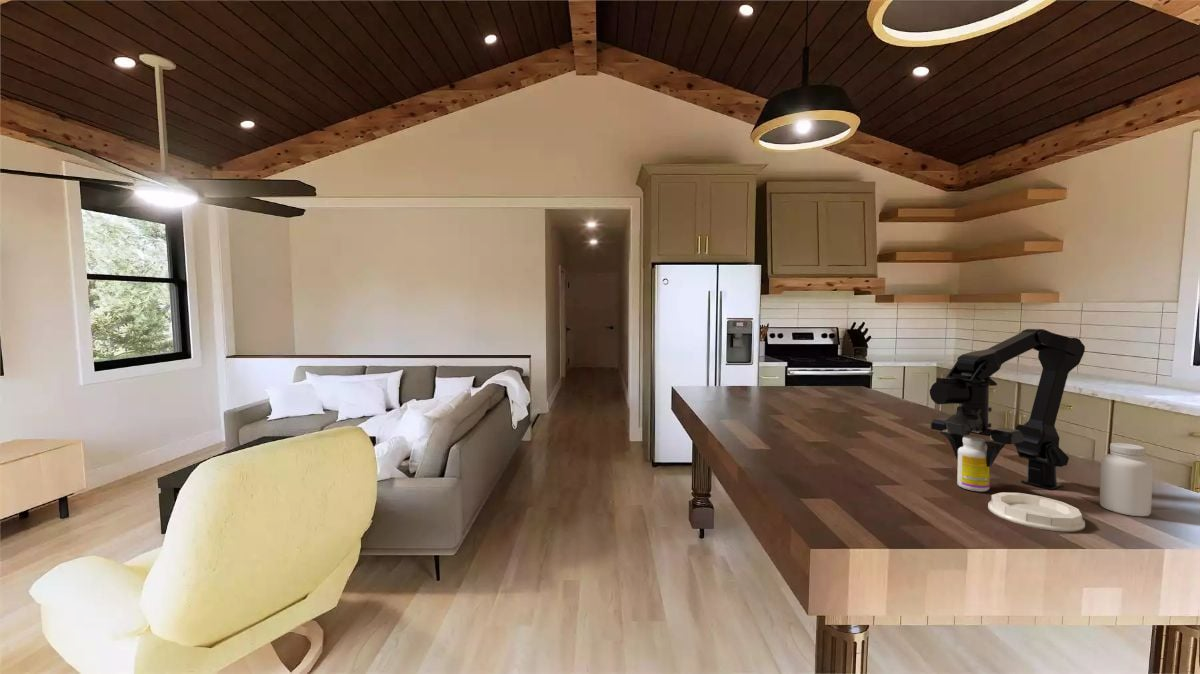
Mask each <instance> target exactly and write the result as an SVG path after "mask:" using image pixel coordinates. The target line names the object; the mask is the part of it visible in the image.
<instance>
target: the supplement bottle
mask: <svg viewBox="0 0 1200 674" xmlns="http://www.w3.org/2000/svg"><path fill="white" fill-rule="evenodd" d="M985 441H986V439H984V438H981V437H975V436H963V441H962V442H963V446H962V447H960V448H959V449H958V459H957V470H956V471H957V477H956V481H957V486H959V487H960V488H962V489H964V490H968V491H972V492H988V491H989V490H990V479H991V477H990V475H991V473H990V472H991V467H987V462H986V459H987V448H985V446H986V443H985Z"/></svg>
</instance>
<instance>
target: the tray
mask: <svg viewBox="0 0 1200 674" xmlns="http://www.w3.org/2000/svg"><path fill="white" fill-rule="evenodd" d="M987 504H988V505H987V508H988V511H989V512H990V513H992V514H993V515H995V516H996V517H998V518H1001V519H1003V520H1006V521H1008V522H1011V523H1015V524H1017V525H1021V526H1025V527H1030V528H1033V529H1038V530H1044V531H1051V532H1060V533H1061V532H1062V533H1066V532H1067V533H1071V532H1074V533H1075V532H1080V531H1083V530H1084V529H1086V522H1085V520H1084V518H1083V515H1082V514H1083V513H1081V511H1080V509H1079V508H1077V507H1075V506H1073V505H1071V504H1068V503H1066V502H1063V501H1060V500H1057V499H1053V498H1049V497H1046V496H1040V495H1036V494H1030V493H1028V494H1027V493H1022V492H1005V491H1004V492H997V493H994V494H991V500H990V501H989V502H988V503H987Z"/></svg>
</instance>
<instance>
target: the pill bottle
mask: <svg viewBox="0 0 1200 674" xmlns="http://www.w3.org/2000/svg"><path fill="white" fill-rule="evenodd" d="M1109 449H1110V450H1109V452H1110V453H1107V454H1104V455H1103V456H1102V457H1101V460H1100V461H1101V462H1100V479H1099V480H1100V483H1099V505H1100V507H1102V508H1104V509H1106V510H1108V511H1111V512H1114V513H1117V514H1120V515H1126V516H1132V517H1134V516H1135V517H1149V516H1150V515H1151V512H1152V497H1153V495H1152V494H1153V475H1154V467H1153V464H1152V462H1150V460H1148V459H1145V454H1146V453H1145V452H1146V451H1145V450H1146V449H1145V447H1144V446H1142V445H1137V444H1132V443H1128V442H1127V443H1126V442H1111V443H1110V444H1109Z"/></svg>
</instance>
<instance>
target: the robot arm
mask: <svg viewBox="0 0 1200 674" xmlns="http://www.w3.org/2000/svg"><path fill="white" fill-rule="evenodd" d="M1031 350H1034V351H1036V352H1038V355H1037V357H1038V358H1037V359H1038V361H1039V362H1040V365H1041V367H1042V371H1041V375H1040V376H1039V377H1040V378H1039V381H1038V386H1037V389H1036V393H1035V397H1034V400H1033V404H1032V409H1031V412H1030V415H1029V419H1028V421H1026V422H1025V423H1024V424H1021V423H1020V424H1019V423H1018V424H1017V425H1016V427H1015V429H1013V428H1008V427H1000V428H994V429H993V428H992V423H991V422H989V413H990V412H992V407H991V406H989V405H990V404H989V401H990V400H989V399H990V396H989V395H990V387H991V386H992V387H995V386H997V385H998V383H997V381H994V380H993V379H992V378H991V377H992V376H993V375H994V374H995V373H997V372H998V371H1000V370H1001V366H1002V365H1004V363H1006V362H1009V361H1010V360H1012V359H1014V358H1016V357H1018V356H1020V355H1022V354H1024V353H1027V352H1028V351H1031ZM1085 350H1086V347H1085V344H1084V343H1083V342H1082V341H1081V339H1079V338H1078V337H1069V336H1066V335H1062V334H1057V333H1054V332H1051V331H1049V330H1046V329H1043V328H1027V329H1026V328H1025V329H1022V331H1021V332H1019V333H1018V334H1016V335H1013V336H1012V337H1009V338H1007V339H1005V340H1003V341H1001V342H999V343H997V344H995V345H993V346H991V347H989V348H986V349H982V350H975V351H974V350H973V351H970V352H967V353H962V354H961V355H959V356H958V357H957V361H956V362H955V364H954V365H953V366H952V368H951V369H950V371H949V372H948V374H947V375H946V377H942V376H941V377H936V381H935V382H934V383H933V384H932V385H931V387H930V389H929V396H930V398H931V400H932V401H933V403H935V404H937V405H957V404H958V405H957V407H956V412H955V414H952V415H950V416H949V417H943V416H942V417H937V418H932V420H931V421H930V427H929V428H930V430H933V431H934V430H935V431H939V433H940V434H941V435H944V437H946V439H947V440H948V441H949V443H950V445H951V448H952V450H953V453H954V456H955V457H956V460H958V449H959V448H960V447H962V446H963V445H964V444H963V442H962V441H963V437H968V436H969V435H970V434H976V435H980V436H986V437H989V438H990V439H989V440H985V446H986V450H987V459H986V462H987V467H990V468H991V467H992V465H993V463H994V462H995V461H996V459H997V458H998V455H999V453H1000V452H1001V451H1002V450H1003V449H1004V447H1005V446H1006V445H1013V446H1014V447H1015V448H1016V451H1017V452H1016V453H1017V455H1018V457H1019V458H1023V459H1026V460H1027V472H1026V473H1027V476H1026V477H1027V478H1024V479H1021V480H1020V483H1023V484H1027V485H1032V486H1035V487H1039V488H1042V489H1047V490H1053V489H1057V488H1061V487H1064V484H1063V483H1062V482H1061V483H1060V482H1057V481H1058V479H1057V477H1058V471H1057V470H1058V467H1059V468H1060V467H1061V468H1063V467H1064V466H1067V465H1068V462H1069V460H1070V458H1069V456H1068V455H1067V454H1066V453H1065V452H1064V450H1062V448H1060V436H1059V434H1058V431H1057V429H1056V421H1057V417H1058V413H1059V411H1060V410H1059V409H1060V406H1061V402H1062V399H1063V395H1064V390H1065V387H1066V384H1067V379H1068V377H1069V373H1070V372H1071V371H1072V370H1074V369H1075V368H1076V367H1077V366H1078V365H1080V363H1081V361H1082V359H1083V355H1084V354H1085Z"/></svg>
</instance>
